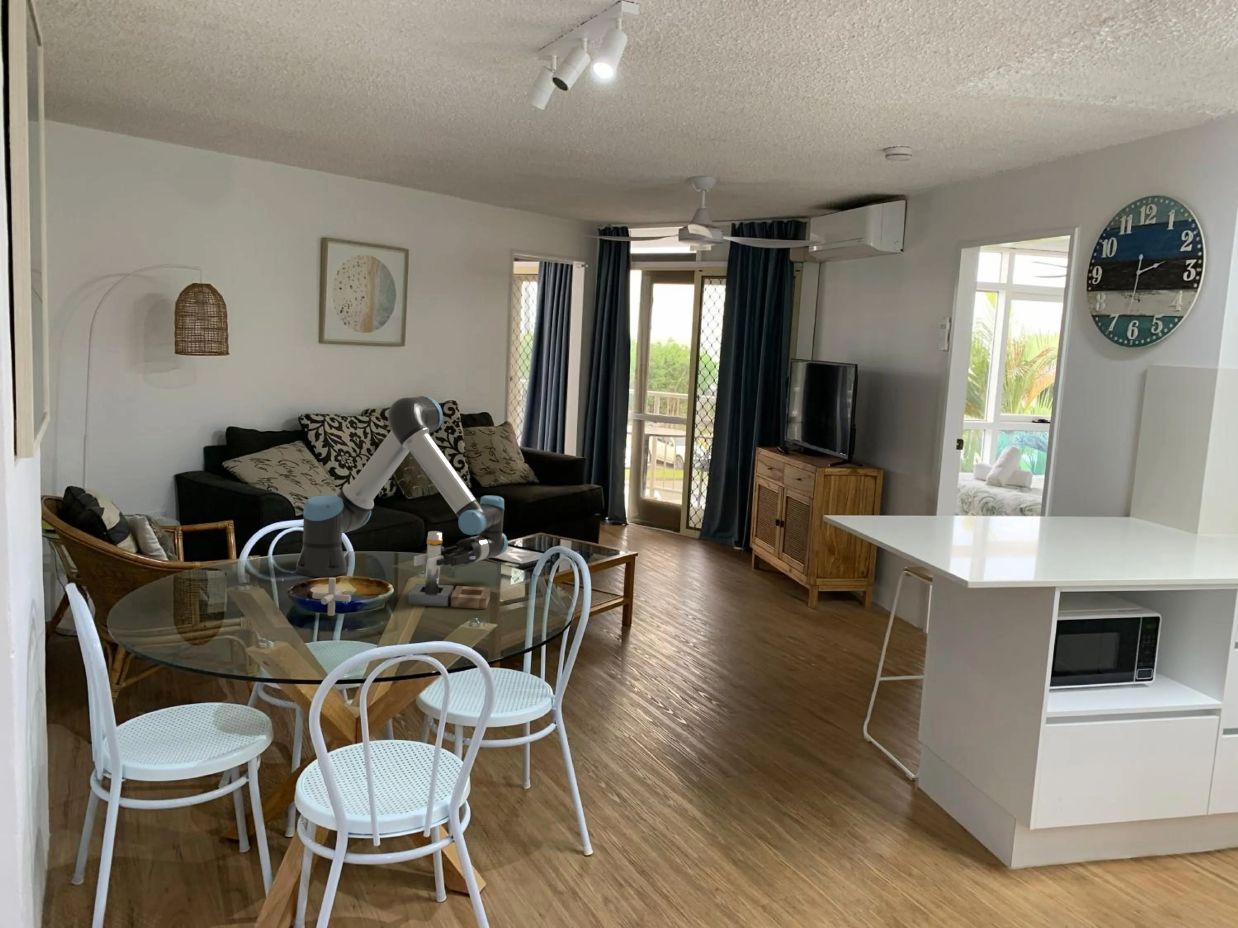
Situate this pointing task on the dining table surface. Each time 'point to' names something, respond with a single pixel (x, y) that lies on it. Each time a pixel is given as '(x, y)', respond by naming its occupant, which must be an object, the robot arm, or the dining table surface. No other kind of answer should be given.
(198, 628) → the dining table surface
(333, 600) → the pipe connector
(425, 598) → the socket block
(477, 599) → the block
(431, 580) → the silver banded cylinder
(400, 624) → the dining table surface
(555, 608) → the dining table surface
